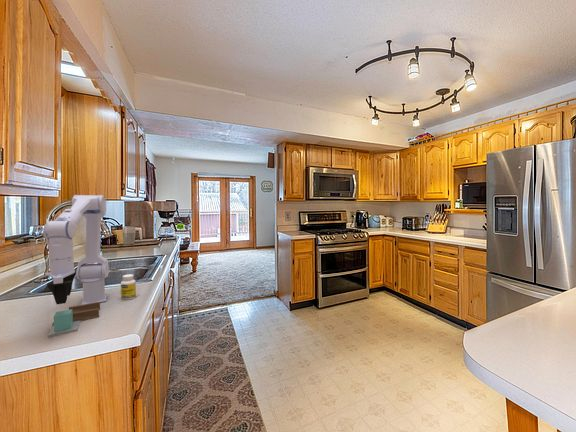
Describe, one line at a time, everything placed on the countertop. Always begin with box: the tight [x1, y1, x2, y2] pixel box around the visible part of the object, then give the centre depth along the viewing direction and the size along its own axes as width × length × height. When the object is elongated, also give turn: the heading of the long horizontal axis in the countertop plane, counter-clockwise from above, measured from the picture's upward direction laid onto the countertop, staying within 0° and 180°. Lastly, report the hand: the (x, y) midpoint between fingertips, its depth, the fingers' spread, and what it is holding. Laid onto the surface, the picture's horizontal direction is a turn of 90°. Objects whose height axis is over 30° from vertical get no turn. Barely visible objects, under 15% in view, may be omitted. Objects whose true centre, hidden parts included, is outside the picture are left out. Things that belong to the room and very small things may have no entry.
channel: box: [68, 302, 101, 322], centre depth 91 cm, size 8×9×3 cm
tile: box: [47, 320, 81, 338], centre depth 81 cm, size 7×7×1 cm
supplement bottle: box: [120, 273, 137, 301], centre depth 108 cm, size 5×5×10 cm
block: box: [53, 309, 73, 332], centre depth 81 cm, size 4×4×5 cm
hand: (63, 299), depth 81 cm, fingers open, 7 cm apart
